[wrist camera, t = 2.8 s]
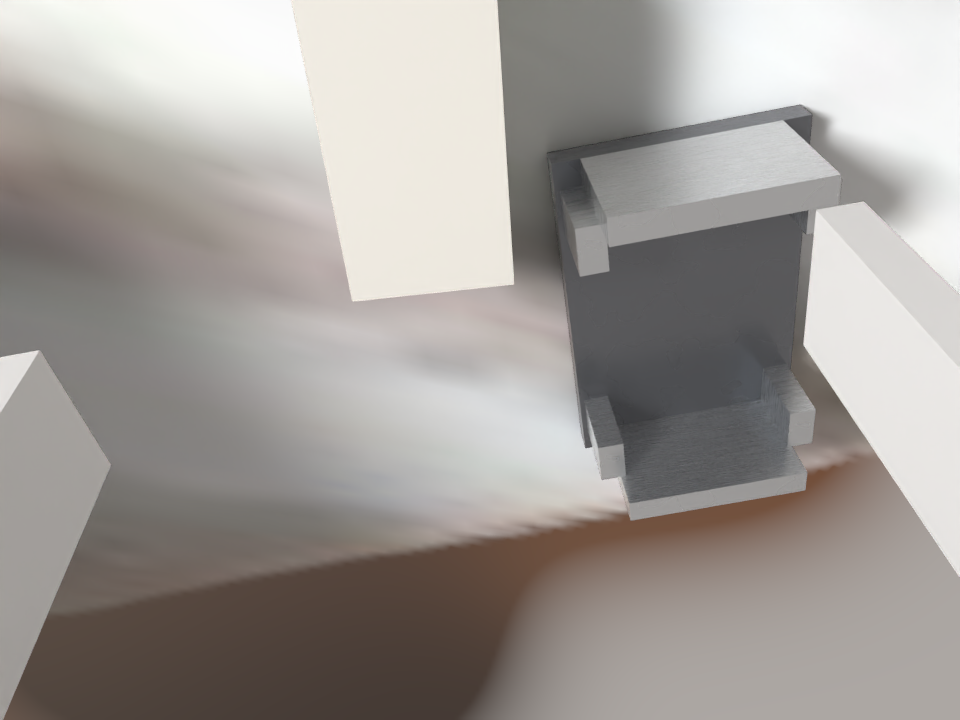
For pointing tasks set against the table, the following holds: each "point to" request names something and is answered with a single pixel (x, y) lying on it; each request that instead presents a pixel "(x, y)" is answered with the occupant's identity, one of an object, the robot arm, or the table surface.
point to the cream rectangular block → (411, 141)
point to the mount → (691, 305)
